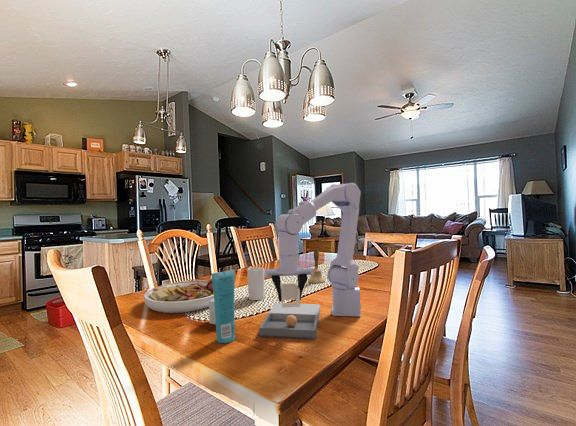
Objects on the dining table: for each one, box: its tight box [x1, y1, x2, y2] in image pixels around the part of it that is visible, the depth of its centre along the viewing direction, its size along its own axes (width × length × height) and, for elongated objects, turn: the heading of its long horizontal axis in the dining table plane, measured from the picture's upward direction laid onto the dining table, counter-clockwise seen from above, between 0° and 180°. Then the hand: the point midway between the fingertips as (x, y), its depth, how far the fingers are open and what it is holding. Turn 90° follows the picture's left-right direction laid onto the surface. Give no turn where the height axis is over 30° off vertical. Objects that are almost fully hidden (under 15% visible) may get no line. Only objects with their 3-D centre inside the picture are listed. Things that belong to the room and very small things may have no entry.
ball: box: [286, 315, 297, 327], centre depth 92 cm, size 3×3×3 cm
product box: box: [208, 299, 235, 325], centre depth 98 cm, size 6×6×7 cm
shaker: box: [280, 282, 301, 308], centre depth 91 cm, size 5×7×5 cm
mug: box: [247, 266, 265, 301], centre depth 123 cm, size 10×7×12 cm, turn 21°
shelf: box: [268, 302, 321, 323], centre depth 102 cm, size 16×10×2 cm, turn 81°
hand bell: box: [307, 247, 326, 284], centre depth 147 cm, size 8×8×16 cm
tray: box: [258, 312, 319, 340], centre depth 91 cm, size 16×12×2 cm
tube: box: [210, 269, 236, 344], centre depth 84 cm, size 7×5×19 cm, turn 140°
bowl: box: [143, 278, 214, 314], centre depth 119 cm, size 30×30×8 cm
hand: (289, 299), depth 91 cm, fingers closed on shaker, 5 cm apart
